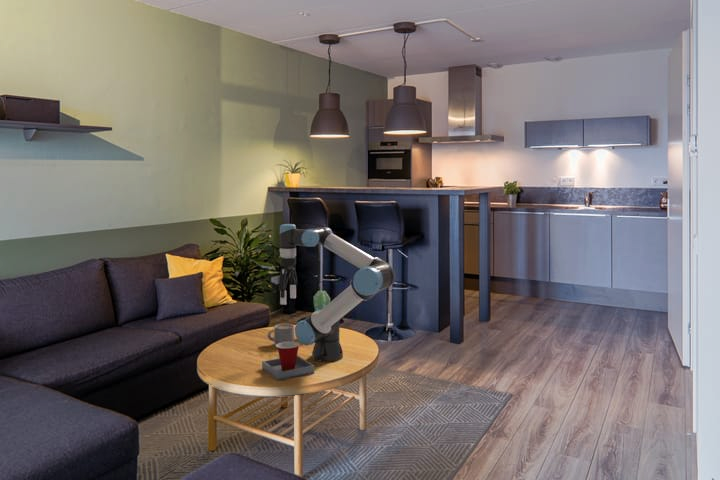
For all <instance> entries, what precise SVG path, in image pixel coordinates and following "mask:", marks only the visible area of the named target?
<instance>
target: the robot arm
mask: <svg viewBox="0 0 720 480" xmlns="http://www.w3.org/2000/svg"><path fill="white" fill-rule="evenodd" d="M278 234H279V250H278V252H279V257H280V258H279V264H280V267H281V266H282V267H283V268H280V276H279V280H278V287H277V290H278V291H279V293H280V294H279V297H280V298H279V299H280V300H279V305H285V306H286V305H287V290H286V289H287V286H288V281H289V282H290V285H289V295H290V296H289V297H290V299H296V298H297V285H298V284H299V283H298V277H297V272H296V270H297V269H296V264H297V246H302V247H307V248H309V247H316V246H317V245H321V246H322V247H324V248H326V249H327V250H329V251H330V252H332V253H334V254H335V255H337V256H338V257H340V258H342V259H344V260H345V261H347V262H349V263H350V264H352V265H354V266H356V268H358V269H359V270H357V271H356V272H355V274H354V276H353V278H351V280H350V285H349V286H347V288H345V289H344V290H343V291H341V293H339V294H337V296H336V297H334V299H332V300H330V303H329V304H328V305H326V306H325V307H324V308H323V309H322V310H317V311H315V310H314V312H312V313H311V314H309V315H308V316H307V317H306V318H304V319H302V320H299V321H298V322H297V323H296V325H294V336H295V337H296V340H297V342H298V343H300V345H303V346H312V345H313V350H312V351H311V358H312V359H313V360H314V361H318V362H326V363H327V362H336V361H340V360H341V359H343V358H344V351H343V348H342V345H341V342H340V324H341V323H340V320H341V319H342V318H343V317H344V316H345V315H347V314H348V313H349V312H350V311H352V310H353V309H354V308H355V307H356V306H357V305H359V304H360V303H361V302H362V301H365V302H366V301H369V300H370V299H372V298H373V297H374V296H375V295H377V293H379V292H381V291H383V290H387V289H389V288H390V287H392V286H393V284H394V282H395V279H396V273H395V270H394V268H393V267H392V266H391V265H390V264H389V263H388V262H386V261H385V260H384V259H381V258H379V257H378V256H377V257H373V256H372V255H370V254H369V253H366V252H365V251H363V250H362V249H360V248H358V247H356V246H354V245H353V244H352V243H349V242H348V241H346V240H344V239H343V238H341V237H339V236H338V235H336V234H334V233H333V231H332V229H331V228H330V227H325V226H322V227H316V228H308V229H299V228H297V227H296V224H294V223H293V224H292V223H284V224H281V225H279V233H278ZM342 357H343V358H342ZM339 359H340V360H339Z"/></svg>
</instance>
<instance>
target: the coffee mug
mask: <svg viewBox="0 0 720 480" xmlns="http://www.w3.org/2000/svg"><path fill="white" fill-rule="evenodd" d="M272 333H273V334H274V335H273V337H271V334H272ZM267 337H268V340H270V341H272V342H274V346H275V347H276V345H277V344H279V343H283V342H295V325H294V324H291V323H279V324H275V325H274V328H272V329H271V328H270V329H269V330H268V332H267Z"/></svg>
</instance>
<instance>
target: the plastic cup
mask: <svg viewBox="0 0 720 480" xmlns="http://www.w3.org/2000/svg"><path fill="white" fill-rule="evenodd" d="M300 345H301V343H300V342H299V341H294V342H283V343H279V344H277V345H276V346H275V347H276V349H277V352H278V356H279V357H278V358H280V363H281V368H282V370H283V371H287V370H292V369H295V365H296V359H297V355H298V351H299V347H300Z"/></svg>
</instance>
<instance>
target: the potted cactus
mask: <svg viewBox="0 0 720 480" xmlns="http://www.w3.org/2000/svg"><path fill="white" fill-rule="evenodd" d="M330 302H331V297H330V296H329V294H328V293H327V291H326V290H318V291H317V292H316V293H315V295H314V296H313V307H314V312H315V311H317V310H322V309H323V308H324V307H325V306H326V305H328V304H329V303H330Z"/></svg>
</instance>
